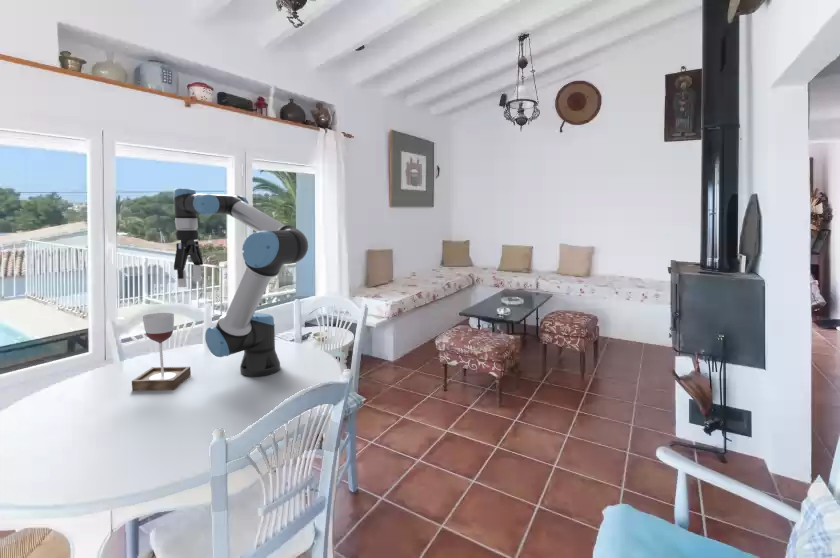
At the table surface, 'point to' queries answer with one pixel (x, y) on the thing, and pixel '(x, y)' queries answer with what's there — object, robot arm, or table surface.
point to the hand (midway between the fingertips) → (190, 284)
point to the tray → (169, 384)
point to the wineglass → (159, 336)
